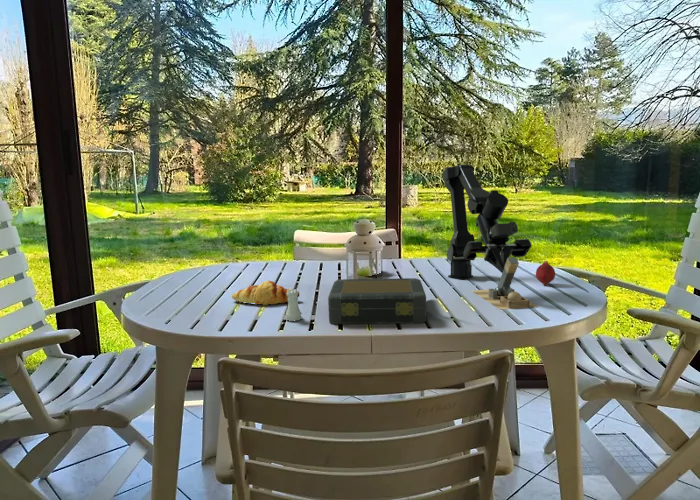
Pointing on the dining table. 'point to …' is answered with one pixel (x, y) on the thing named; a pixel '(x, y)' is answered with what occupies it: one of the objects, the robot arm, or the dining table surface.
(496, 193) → the robot arm
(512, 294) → the beige ball
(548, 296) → the dining table surface
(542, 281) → the onion
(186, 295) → the dining table surface
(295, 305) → the rook chess piece
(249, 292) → the croissant
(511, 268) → the lever
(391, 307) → the cash box
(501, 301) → the base
